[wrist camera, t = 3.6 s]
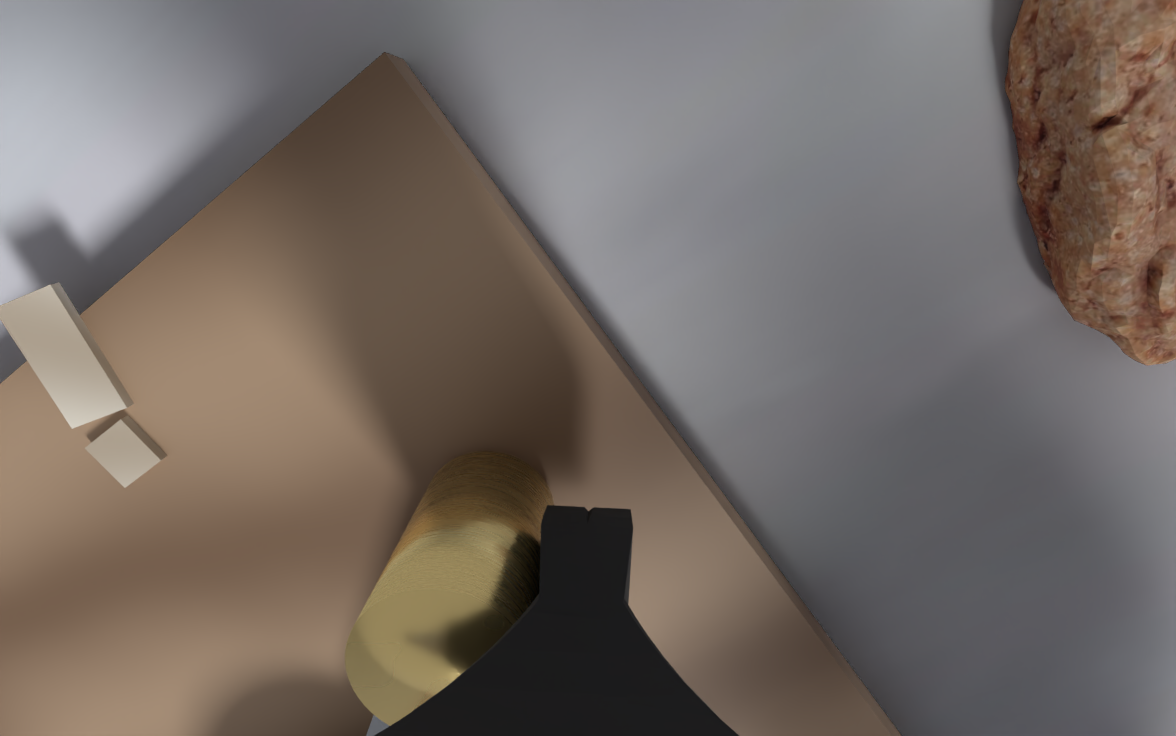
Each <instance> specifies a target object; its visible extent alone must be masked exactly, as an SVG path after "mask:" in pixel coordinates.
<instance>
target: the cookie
mask: <svg viewBox="0 0 1176 736" xmlns="http://www.w3.org/2000/svg"><path fill="white" fill-rule="evenodd" d="M1008 56H1009V61H1008V71H1007V75H1006V78H1005V91H1006V94H1007V96H1008V98H1009V100H1010V103H1011V111H1012V119H1013V122H1012V128H1013V131H1014V133H1015V137H1016V143H1017V150H1018V157H1019V171H1018V179H1017V183H1018V185H1019V188H1020V190H1021V193H1022V197H1023V203H1024V204H1025V206H1026V211H1027V214H1028V216H1029V219H1030V222H1031V224H1032V228H1033V231H1034V233H1035V236H1036V238H1037V243H1038V247H1039V251H1040V253H1041V256H1042V258H1043V260H1044V263H1043V264H1044V265H1045V267H1046V269H1047V271H1048V272H1049V275H1050V278H1051V279H1052V283H1053V285H1054V288H1055V290H1056V292H1057V295H1058V297H1059V299H1060V301H1061V302H1062V304H1063V305H1064V307H1065V308H1066V309H1067V311H1068V312H1069V314H1070V315H1071V316H1072V318H1073V319H1074V320H1075V321H1077V322H1080V323H1082V324H1084V325H1087V326H1089V327H1091V328H1094V329H1096V330H1098V331H1100V332H1101V333H1103V334H1105V335H1107V336H1108V337H1110V338H1111V339H1112V340H1113V341H1114V342H1115V343H1116V344H1117V345H1118V346H1119V347H1120V348H1121V350H1122V351H1123V352H1124V353H1125V354H1126V355H1128V356H1129V357H1131V358H1132V359H1134V360H1135V361H1137V362H1140V363H1142V364H1145V365H1154V364H1166V363H1168V362H1170V361H1172V360H1174V359H1176V0H1023V2H1022V5H1021V8H1020V11H1019V14H1018V19H1017V23H1016V25H1015V28H1014V31H1013V34H1012V36H1011V39H1010V48H1009V52H1008Z"/></svg>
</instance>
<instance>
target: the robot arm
mask: <svg viewBox="0 0 1176 736" xmlns="http://www.w3.org/2000/svg"><path fill="white" fill-rule="evenodd" d="M632 539H633V522H632V515H631V509H619V508H598V507H593V508H592V509H591V510H590V511H588V510H587V509H586V508H585V507H577V506H556V505H547V507H546V509H545V512H544V515H543V519H542V522H541V543H540V584H539V594H538V595H537V597H536V598H535V599H534V601H533V602H532V603H531V605H530V606H529V607H528V608H527V609H526V611H525V612H524V613H523V614H522V615H521V616H520V618H519V619H518V620H517V621H516V622H515V623H514V624H513V625H512V626H511V627H510V629H509V630H508V631H507V632H506V633H505V634H504V635H503V636H502V637H501V638H500V639H499V640H498V641H497V642H496V643H495V644H494V645H493V646H492V647H491V648H490V649H489V650H488V651H486V652H485V653H484V654H483V655H482V656H481V657H480V658H479V659H478V660H477V661H475V662H474V663H473V664H472V665H471V666H470V667H469V668H468V669H467V670H466V671H464V672H463V673H462V674H461V675H460V676H458V677H457V678H456V679H455V680H454V681H452V682H451V683H450V684H449V685H447V686H446V687H445V688H444V689H442V690H441V691H440V692H438V693H437V694H435V695H434V696H433V697H431V698H430V699H428V700H427V701H426V702H424V703H423V704H422V705H420V706H419V707H417V708H416V709H415V710H413V711H412V712H411V713H409V714H408V715H406V716H405V717H403V718H402V719H400V720H399V721H397V722H396V723H394V724H392V725H391V726H389V727H388V728H386V729H384V730H383V731H381V732H379V733H377V734H376V735H374V736H739V735H738V734H737V733H736V732H735V731H734V730H732V729H731V728H730V727H729V726H728V725H727V724H726V723H725V722H723V721H722V720H721V719H720V718H719V717H718V716H717V715H716V714H715V713H714V712H713V711H712V710H711V709H710V707H709V706H708V705H707V704H706V703H705V702H704V701H703V700H702V699H701V698H700V697H699V696H698V695H697V694H696V693H695V692H694V691H693V690H692V689H691V688H690V687H689V686H688V685H687V684H686V683H685V682H684V680H683V679H682V678H681V677H680V676H679V674H678V673H677V672H676V671H675V670H674V668H673V667H672V666H671V665H670V664H669V662H668V661H667V660H666V659H665V658H664V656H663V655H662V654H661V652H660V651H659V650H658V648H657V647H656V646H655V644H654V643H653V642H652V640H651V639H650V637H649V636H648V635H647V633H646V632H645V630H644V629H643V627H642V626H641V624H640V623H639V621H638V620H637V618H636V617H635V615H634V613H633V612H632V610H631V608H630V607H629V605H628V603H629V587H630V571H631V555H632Z"/></svg>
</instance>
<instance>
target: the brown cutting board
mask: <svg viewBox="0 0 1176 736" xmlns="http://www.w3.org/2000/svg"><path fill="white" fill-rule="evenodd" d="M0 320H1V321H2V323H3V324H4V326H5V327H6V329H7V331H8V332H9V334H10V335H11V337H12V338H13V340H14V341H15V343H16V344H17V346H18V347H19V349H20V350H21V352H22V353H23V355H24V356H25V358H26V360H27V361H26V362H25V363H24V364H23V365H21V366H20V367H19V368H18V369H17V370H16V371H14V372H13V373H12V374H11V375H10V376H9V377H7V378H6V379H5V380H4V381H3V382H2V383H0V736H366V735H367V732H368V729H369V726H370V724H371V721H372V718H373V715H374V714H372V713H371V712H370V711H369V710H368V709H367V708H366V707H365V706H364V705H363V703H362V702H361V701H360V699H359V698H358V697H357V695H356V693H355V692H354V690H353V688H352V686H351V684H350V681H349V679H348V676H347V672H346V667H345V648H346V644H347V640H348V637H349V635H350V632H351V630H352V628H353V626H354V624H355V622H356V621H357V619H358V617H359V615H360V613H361V611H362V609H363V607H364V606H365V604H366V602H367V600H368V598H369V596H370V594H371V593H372V591H373V589H374V587H375V585H376V583H377V581H378V579H379V578H380V576H381V574H382V572H383V570H384V568H385V566H386V565H387V563H388V561H389V559H390V557H391V555H392V553H393V551H394V550H395V548H396V546H397V544H398V542H399V540H400V538H401V536H402V535H403V533H404V531H405V529H406V527H407V525H408V523H409V522H410V520H411V518H412V516H413V514H414V512H415V510H416V508H417V507H418V505H419V503H420V501H421V499H422V497H423V495H424V494H425V492H426V490H427V488H428V486H429V484H430V482H431V481H432V479H433V477H434V476H435V474H436V473H437V472H438V471H439V470H440V469H441V468H442V467H443V466H444V465H445V464H446V463H448V462H449V461H451V460H452V459H455V458H457V457H459V456H461V455H464V454H467V453H471V452H477V451H495V452H501V453H505V454H508V455H511V456H514V457H516V458H518V459H520V460H522V461H524V462H525V463H527V464H528V465H530V466H531V467H532V468H534V469H535V470H536V471H537V472H538V473H539V474H540V475H541V477H542V478H543V479H544V480H545V482H546V484H547V485H548V487H549V489H550V492H551V494H552V497H553V501H554V505H556V506H577V507H585V508H586V509H587V510H588V511H590V510H591V509H592V508H593V507H598V508H619V509H631V515H632V522H633V539H632V555H631V571H630V587H629V603H628V605H629V607H630V608H631V610H632V612H633V613H634V615H635V617H636V618H637V620H638V621H639V623H640V624H641V626H642V627H643V629H644V630H645V632H646V633H647V635H648V636H649V637H650V639H651V640H652V642H653V643H654V644H655V646H656V647H657V648H658V650H659V651H660V652H661V654H662V655H663V656H664V658H665V659H666V660H667V661H668V662H669V664H670V665H671V666H672V667H673V668H674V670H675V671H676V672H677V673H678V674H679V676H680V677H681V678H682V679H683V680H684V682H685V683H686V684H687V685H688V686H689V687H690V688H691V689H692V690H693V691H694V692H695V693H696V694H697V695H698V696H699V697H700V698H701V699H702V700H703V701H704V702H705V703H706V704H707V705H708V706H709V707H710V709H711V710H712V711H713V712H714V713H715V714H716V715H717V716H718V717H719V718H720V719H721V720H722V721H723V722H725V723H726V724H727V725H728V726H729V727H730V728H731V729H732V730H734V731H735V732H736V733H737V734H738V735H739V736H901V734H900V733H899V732H898V730H897V729H896V727H895V726H894V725H893V723H892V722H891V721H890V719H889V718H888V717H887V715H886V714H885V713H884V711H883V710H882V708H881V707H880V706H879V704H878V703H877V702H876V700H875V699H874V698H873V696H872V695H871V693H870V692H869V691H868V689H867V688H866V687H865V685H864V684H863V683H862V681H861V680H860V679H859V677H858V676H857V674H856V673H855V672H854V670H853V669H852V668H851V666H850V665H849V664H848V662H847V661H846V660H845V658H844V657H843V655H842V654H841V653H840V651H839V650H838V649H837V647H836V646H835V645H834V643H833V642H832V641H831V639H830V638H829V636H828V635H827V634H826V632H825V631H824V630H823V628H822V627H821V626H820V624H819V623H818V622H817V620H816V619H815V617H814V616H813V615H812V613H811V612H810V611H809V609H808V608H807V607H806V605H805V604H804V603H803V601H802V600H801V598H800V597H799V596H798V594H797V593H796V592H795V590H794V589H793V588H792V586H791V585H790V584H789V582H788V581H787V579H786V578H785V577H784V575H783V574H782V573H781V571H780V570H779V569H778V567H777V566H776V565H775V563H774V562H773V560H772V559H771V558H770V556H769V555H768V554H767V552H766V551H765V550H764V548H763V547H762V546H761V544H760V543H759V541H758V540H757V539H756V537H755V536H754V535H753V533H752V532H751V531H750V529H749V528H748V527H747V525H746V524H745V522H744V521H743V520H742V518H741V517H740V516H739V514H738V513H737V512H736V510H735V509H734V508H733V506H732V505H731V503H730V502H729V501H728V499H727V498H726V497H725V495H724V494H723V493H722V491H721V490H720V489H719V487H718V486H717V484H716V483H715V482H714V480H713V479H712V478H711V476H710V475H709V474H708V472H707V471H706V470H705V468H704V467H703V465H702V464H701V463H700V461H699V460H698V459H697V457H696V456H695V455H694V453H693V452H692V451H691V449H690V448H689V446H688V445H687V444H686V442H685V441H684V440H683V438H682V437H681V436H680V434H679V433H678V432H677V430H676V429H675V427H674V426H673V425H672V423H671V422H670V421H669V419H668V418H667V417H666V415H665V414H664V412H663V411H662V410H661V408H660V407H659V406H658V404H657V403H656V402H655V400H654V399H653V398H652V396H651V395H650V393H649V392H648V391H647V389H646V388H645V387H644V385H643V384H642V383H641V381H640V380H639V379H638V377H637V376H636V374H635V373H634V372H633V370H632V369H631V368H630V366H629V365H628V364H627V362H626V361H625V360H624V358H623V357H622V355H621V354H620V353H619V351H618V350H617V349H616V347H615V346H614V345H613V343H612V342H611V341H610V339H609V338H608V336H607V335H606V334H605V332H604V331H603V330H602V328H601V327H600V326H599V324H598V323H597V322H596V320H595V319H594V317H593V316H592V315H591V313H590V312H589V311H588V309H587V308H586V307H585V305H584V304H583V303H582V301H581V300H580V298H579V297H578V296H577V294H576V293H575V292H574V290H573V289H572V288H571V286H570V285H569V284H568V282H567V281H566V279H565V278H564V277H563V275H562V274H561V273H560V271H559V270H558V269H557V267H556V266H555V265H554V263H553V262H552V260H551V259H550V258H549V256H548V255H547V254H546V252H545V251H544V250H543V248H542V247H541V246H540V244H539V243H538V241H537V240H536V239H535V237H534V236H533V235H532V233H531V232H530V231H529V229H528V228H527V227H526V225H525V224H524V222H523V221H522V220H521V218H520V217H519V216H518V214H517V213H516V212H515V210H514V209H513V208H512V206H511V205H510V203H509V202H508V201H507V199H506V198H505V197H504V195H503V194H502V193H501V191H500V190H499V189H498V187H497V186H496V184H495V183H494V182H493V180H492V179H491V178H490V176H489V175H488V174H487V172H486V171H485V170H484V168H483V167H482V165H481V164H480V163H479V161H478V160H477V159H476V157H475V156H474V155H473V153H472V152H471V151H470V149H469V148H468V146H467V145H466V144H465V142H464V141H463V140H462V138H461V137H460V136H459V134H458V133H457V131H456V130H455V129H454V127H453V126H452V125H451V123H450V122H449V121H448V119H447V118H446V117H445V115H444V114H443V112H442V111H441V110H440V108H439V107H438V106H437V104H436V103H435V102H434V100H433V99H432V98H431V96H430V95H429V93H428V92H427V91H426V89H425V88H424V87H423V85H422V84H421V83H420V81H419V80H418V79H417V77H416V76H415V74H414V73H413V72H412V70H411V69H410V68H409V66H408V65H407V64H406V62H405V61H404V60H403V59H401V58H399V57H396V56H393V55H391V54H388V53H386V52H384V53H383V54H382V55H381V56H379V57H378V58H377V59H376V60H375V61H374V62H372V63H371V64H370V65H369V66H368V67H367V68H365V69H364V70H363V71H362V72H361V73H360V74H358V75H357V76H356V77H355V78H354V79H353V80H352V81H350V82H349V83H348V84H347V85H346V86H345V87H343V88H342V89H341V90H340V91H339V92H338V93H336V94H335V95H334V96H333V97H332V98H331V99H330V100H328V101H327V102H326V103H325V104H324V105H323V106H321V107H320V108H319V109H318V110H317V111H316V112H314V113H313V114H312V115H311V116H310V117H309V118H308V119H306V120H305V121H304V122H303V123H302V124H301V125H299V126H298V127H297V128H296V129H295V130H294V131H292V132H291V133H290V134H289V135H288V136H287V137H286V138H284V139H283V140H282V141H281V142H280V143H279V144H277V145H276V146H275V147H274V148H273V149H272V150H270V151H269V152H268V153H267V154H266V155H265V156H263V157H262V158H261V159H260V160H259V161H258V162H257V163H255V164H254V165H253V166H252V167H251V168H250V169H248V170H247V171H246V172H245V173H244V174H243V175H241V176H240V177H239V178H238V179H237V180H236V181H235V182H233V183H232V184H231V185H230V186H229V187H228V188H226V189H225V190H224V191H223V192H222V193H221V194H219V195H218V196H217V197H216V198H215V199H214V200H213V201H211V202H210V203H209V204H208V205H207V206H206V207H204V208H203V209H202V210H201V211H200V212H199V213H197V214H196V215H195V216H194V217H193V218H192V219H191V220H189V221H188V222H187V223H186V224H185V225H184V226H182V227H181V228H180V229H179V230H178V231H177V232H175V233H174V234H173V235H172V236H171V237H170V238H168V239H167V240H166V241H165V242H164V243H163V244H162V245H160V246H159V247H158V248H157V249H156V250H155V251H153V252H152V253H151V254H150V255H149V256H148V257H146V258H145V259H144V260H143V261H142V262H141V263H140V264H138V265H137V266H136V267H135V268H134V269H133V270H131V271H130V272H129V273H128V274H127V275H126V276H124V277H123V278H122V279H121V280H120V281H119V282H118V283H116V284H115V285H114V286H113V287H112V288H111V289H109V290H108V291H107V292H106V293H105V294H104V295H102V296H101V297H100V298H99V299H98V300H97V301H95V302H94V303H93V304H92V305H91V306H90V307H89V308H87V309H86V310H85V311H84V312H83V313H82V314H80V315H79V314H78V312H77V310H76V309H75V307H74V306H73V304H72V302H71V301H70V299H69V297H68V296H67V294H66V293H65V291H64V289H63V288H62V286H61V285H60V283H59V282H58V283H55V284H51V285H48V286H46V287H43V288H41V289H39V290H36V291H34V292H31V293H29V294H27V295H24V296H22V297H20V298H17V299H15V300H12V301H10V302H8V303H5V304H3V305H1V306H0Z"/></svg>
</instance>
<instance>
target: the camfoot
mask: <svg viewBox="0 0 1176 736" xmlns="http://www.w3.org/2000/svg"><path fill="white" fill-rule="evenodd" d="M547 505H554V501H553V497H552V494H551V492H550V489H549V487H548V485H547V484H546V482H545V480H544V479H543V478H542V477H541V475H540V474H539V473H538V472H537V471H536V470H535V469H534V468H532V467H531V466H530V465H528V464H527V463H525V462H524V461H522V460H520V459H518V458H516V457H514V456H511V455H508V454H505V453H501V452H495V451H477V452H471V453H467V454H464V455H461V456H459V457H457V458H455V459H452V460H451V461H449V462H448V463H446V464H445V465H444V466H443V467H442V468H441V469H440V470H439V471H438V472H437V473H436V474H435V476H434V477H433V479H432V481H431V482H430V484H429V486H428V488H427V490H426V492H425V494H424V495H423V497H422V499H421V501H420V503H419V505H418V507H417V508H416V510H415V512H414V514H413V516H412V518H411V520H410V522H409V523H408V525H407V527H406V529H405V531H404V533H403V535H402V536H401V538H400V540H399V542H398V544H397V546H396V548H395V550H394V551H393V553H392V555H391V557H390V559H389V561H388V563H387V565H386V566H385V568H384V570H383V572H382V574H381V576H380V578H379V579H378V581H377V583H376V585H375V587H374V589H373V591H372V593H371V594H370V596H369V598H368V600H367V602H366V604H365V606H364V607H363V609H362V611H361V613H360V615H359V617H358V619H357V621H356V622H355V624H354V626H353V628H352V630H351V632H350V635H349V637H348V640H347V644H346V648H345V667H346V672H347V676H348V679H349V681H350V684H351V686H352V688H353V690H354V692H355V693H356V695H357V697H358V698H359V699H360V701H361V702H362V703H363V705H364V706H365V707H366V708H367V709H368V710H369V711H370V712H371V713H372V714H374V715H373V718H372V721H371V724H370V726H369V729H368V732H367V735H366V736H374V735H376V734H377V733H379V732H381V731H383V730H384V729H386V728H388V727H389V726H391V725H392V724H394V723H396V722H397V721H399V720H400V719H402V718H403V717H405V716H406V715H408V714H409V713H411V712H412V711H413V710H415V709H416V708H417V707H419V706H420V705H422V704H423V703H424V702H426V701H427V700H428V699H430V698H431V697H433V696H434V695H435V694H437V693H438V692H440V691H441V690H442V689H444V688H445V687H446V686H447V685H449V684H450V683H451V682H452V681H454V680H455V679H456V678H457V677H458V676H460V675H461V674H462V673H463V672H464V671H466V670H467V669H468V668H469V667H470V666H471V665H472V664H473V663H474V662H475V661H477V660H478V659H479V658H480V657H481V656H482V655H483V654H484V653H485V652H486V651H488V650H489V649H490V648H491V647H492V646H493V645H494V644H495V643H496V642H497V641H498V640H499V639H500V638H501V637H502V636H503V635H504V634H505V633H506V632H507V631H508V630H509V629H510V627H511V626H512V625H513V624H514V623H515V622H516V621H517V620H518V619H519V618H520V616H521V615H522V614H523V613H524V612H525V611H526V609H527V608H528V607H529V606H530V605H531V603H532V602H533V601H534V599H535V598H536V597H537V595H538V594H539V584H540V543H541V522H542V519H543V515H544V512H545V509H546V507H547Z"/></svg>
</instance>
